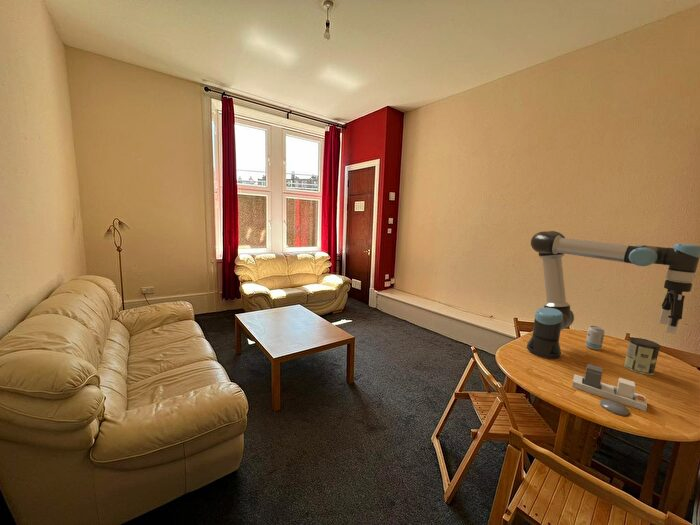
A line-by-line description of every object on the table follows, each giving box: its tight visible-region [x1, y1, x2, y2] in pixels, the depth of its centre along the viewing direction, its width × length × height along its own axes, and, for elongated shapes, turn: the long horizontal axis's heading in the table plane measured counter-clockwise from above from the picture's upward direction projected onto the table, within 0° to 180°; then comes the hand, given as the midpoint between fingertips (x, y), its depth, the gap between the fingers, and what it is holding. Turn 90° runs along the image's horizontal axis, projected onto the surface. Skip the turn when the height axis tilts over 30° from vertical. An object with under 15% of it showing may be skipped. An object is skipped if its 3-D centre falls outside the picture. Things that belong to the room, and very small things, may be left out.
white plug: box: [616, 377, 636, 400], centre depth 112 cm, size 4×4×6 cm
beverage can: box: [584, 325, 606, 351], centre depth 157 cm, size 7×7×12 cm
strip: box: [571, 373, 648, 412], centre depth 116 cm, size 22×9×3 cm, turn 49°
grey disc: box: [599, 398, 630, 417], centre depth 107 cm, size 8×8×1 cm
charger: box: [584, 363, 603, 389], centre depth 118 cm, size 5×5×8 cm
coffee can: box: [623, 337, 661, 376], centre depth 135 cm, size 10×10×14 cm
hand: (666, 328), depth 122 cm, fingers open, 13 cm apart
